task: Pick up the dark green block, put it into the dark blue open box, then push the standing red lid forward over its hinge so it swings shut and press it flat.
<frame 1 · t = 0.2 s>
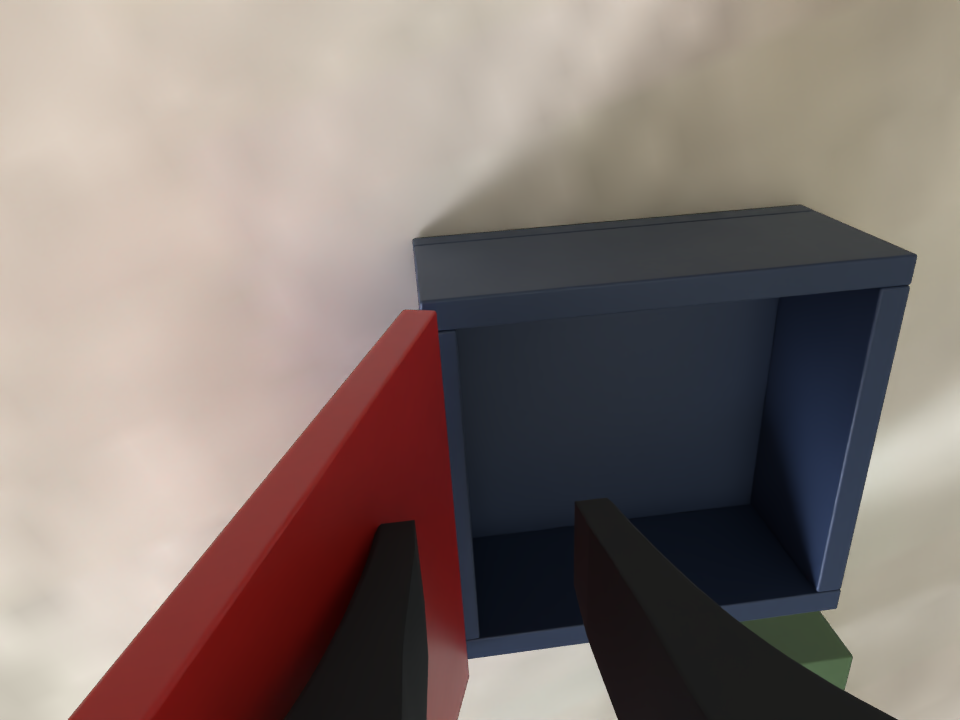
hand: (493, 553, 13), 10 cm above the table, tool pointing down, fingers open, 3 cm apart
dark blue open box: (606, 388, 24), on the table
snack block: (738, 623, 29), on the table
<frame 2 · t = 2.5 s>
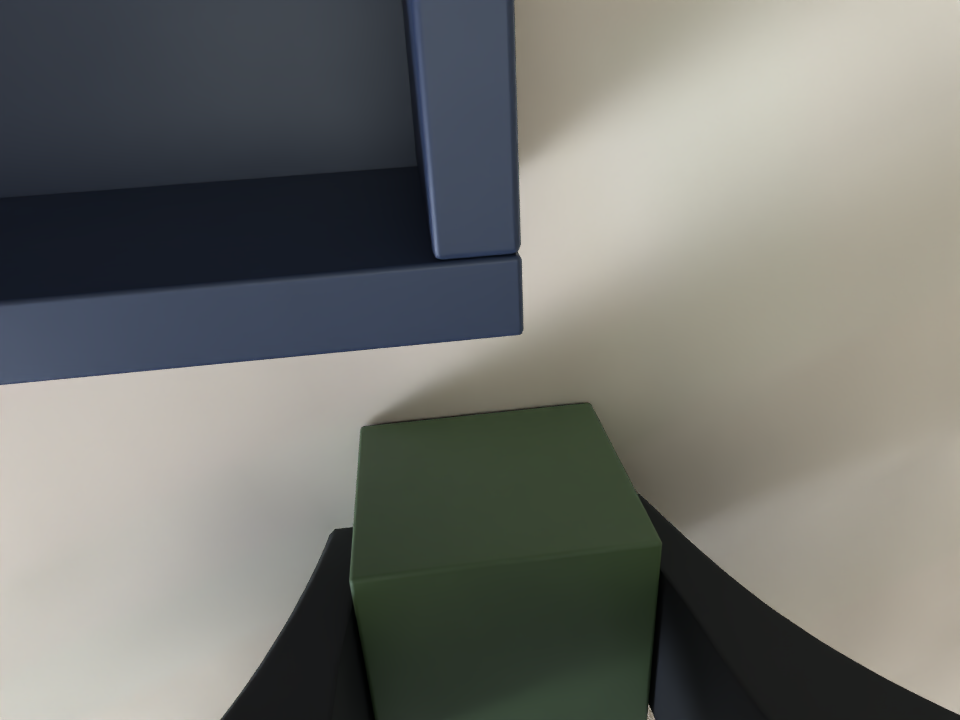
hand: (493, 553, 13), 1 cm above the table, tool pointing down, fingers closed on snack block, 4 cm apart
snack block: (482, 505, 14), on the table, touching gripper
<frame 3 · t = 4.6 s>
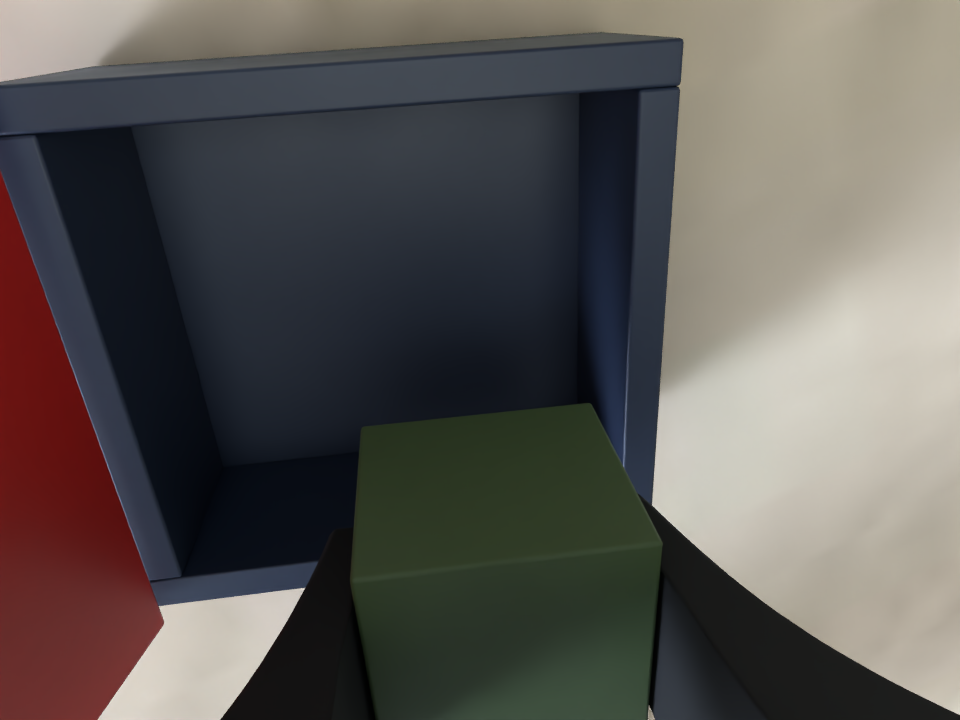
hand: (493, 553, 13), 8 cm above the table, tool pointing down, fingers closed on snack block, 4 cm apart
dark blue open box: (383, 278, 19), on the table
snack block: (483, 505, 14), point 7 cm above the table, touching gripper
when the fingers open (2 cm above the table, at t = 6.8 s): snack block stays where it is, resting on dark blue open box.
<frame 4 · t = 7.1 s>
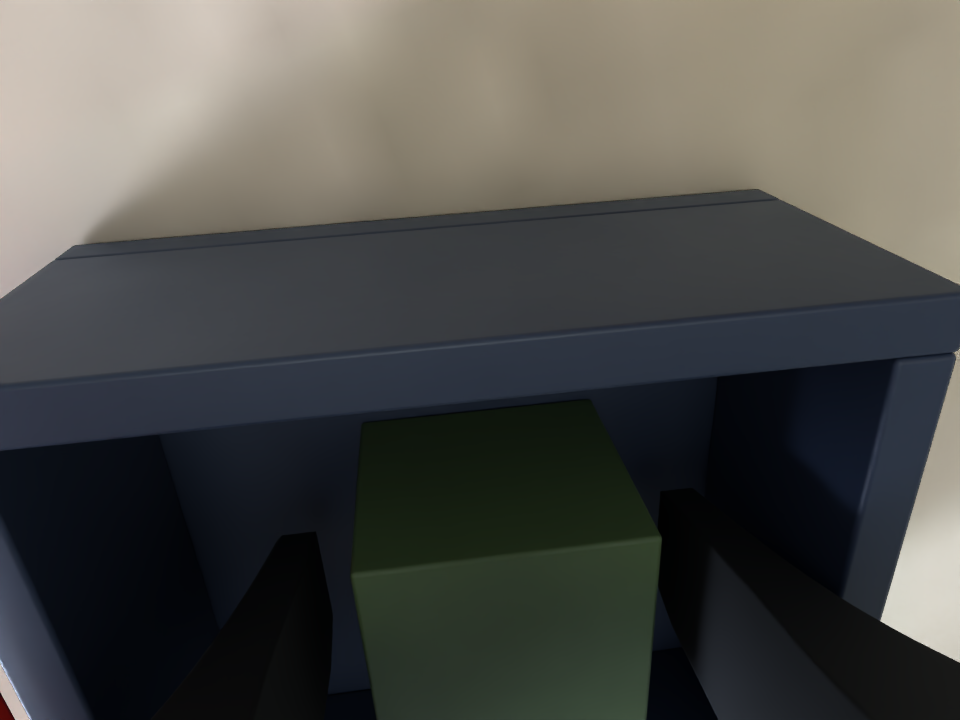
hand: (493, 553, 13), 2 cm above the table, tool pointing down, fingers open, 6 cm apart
dark blue open box: (452, 482, 15), on the table
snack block: (483, 502, 14), point 1 cm above the table, touching dark blue open box
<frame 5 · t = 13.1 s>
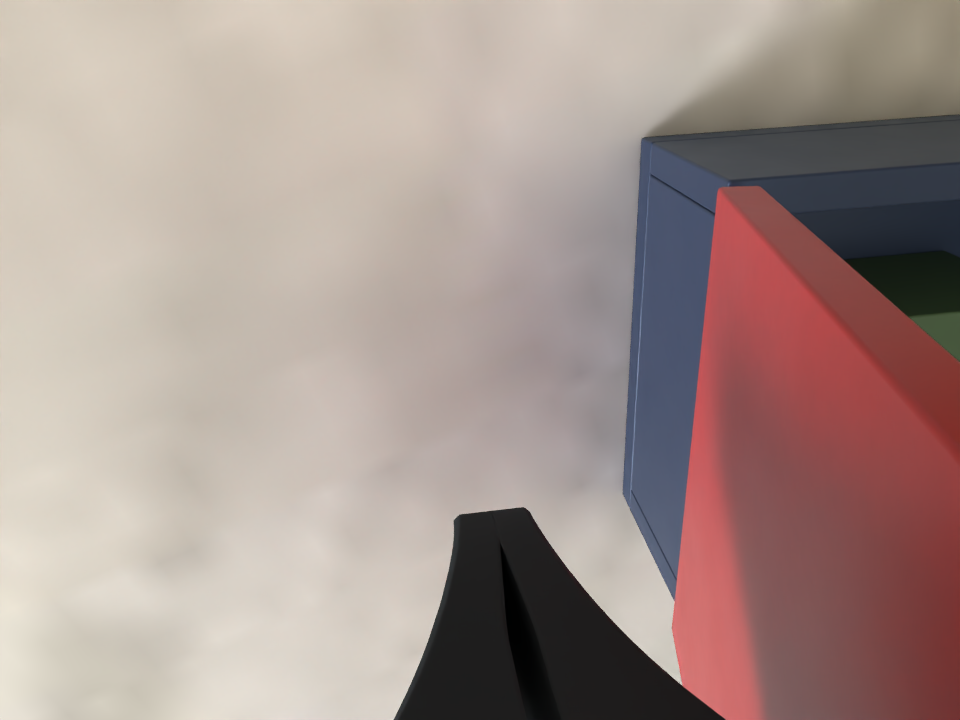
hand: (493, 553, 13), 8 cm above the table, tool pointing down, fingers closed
dark blue open box: (823, 319, 21), on the table
lunchbox lid: (798, 700, 10), point 12 cm above the table, hinge at 102.0°, touching gripper
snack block: (856, 327, 21), point 1 cm above the table, touching dark blue open box
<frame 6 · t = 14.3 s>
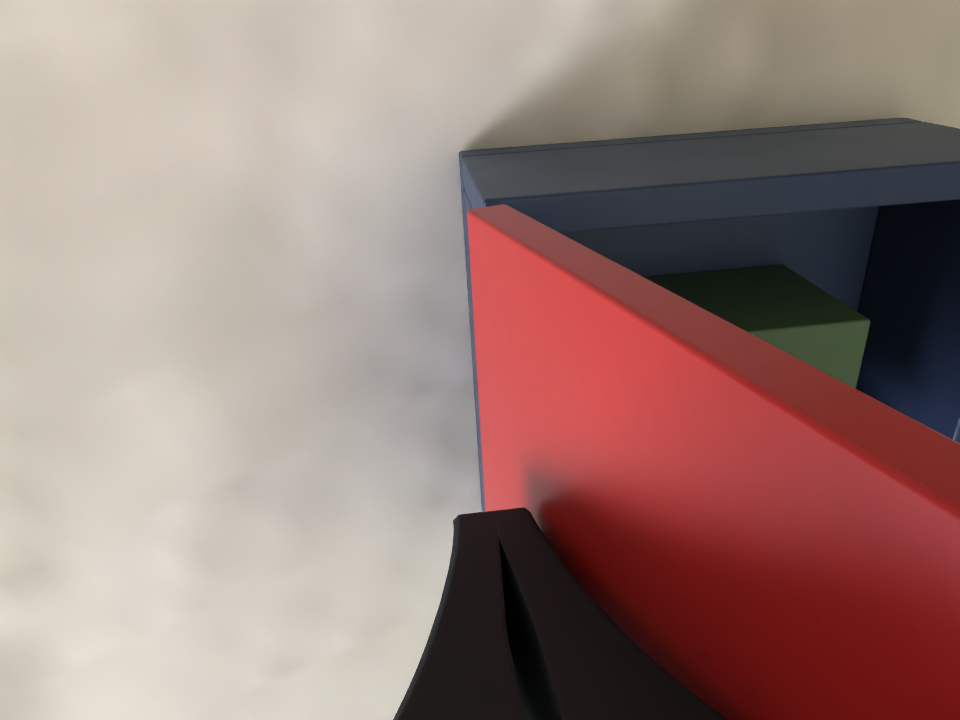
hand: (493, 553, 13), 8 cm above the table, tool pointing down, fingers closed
dark blue open box: (671, 333, 21), on the table
lunchbox lid: (681, 711, 10), point 12 cm above the table, hinge at 74.6°, touching gripper
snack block: (700, 342, 20), point 1 cm above the table, touching dark blue open box
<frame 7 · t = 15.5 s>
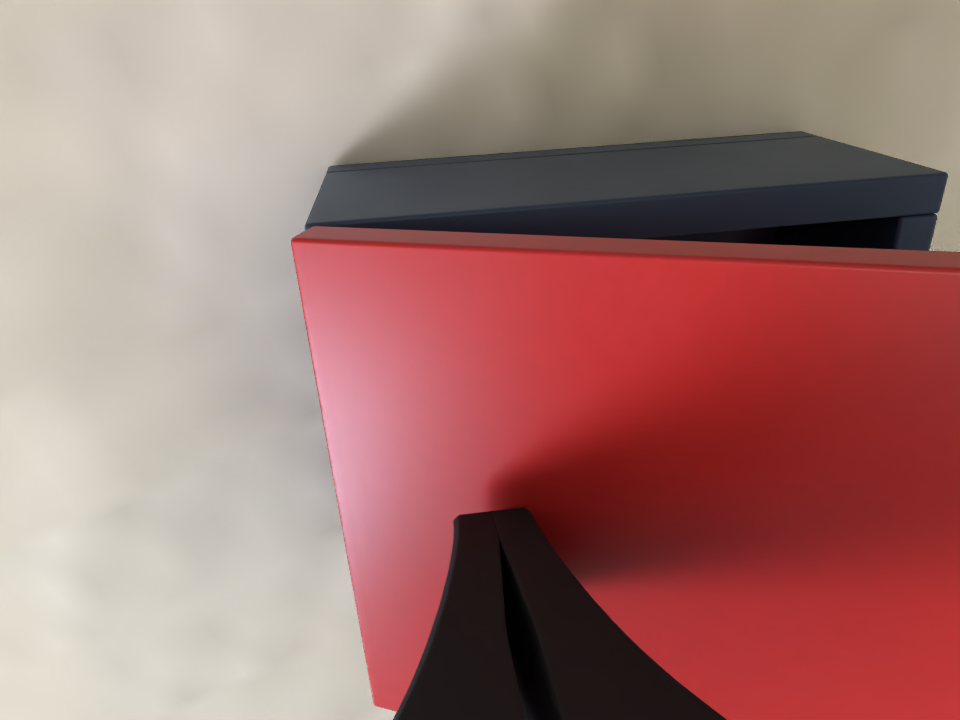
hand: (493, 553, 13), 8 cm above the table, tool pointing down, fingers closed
dark blue open box: (570, 354, 20), on the table
lunchbox lid: (671, 558, 12), point 8 cm above the table, hinge at 23.8°
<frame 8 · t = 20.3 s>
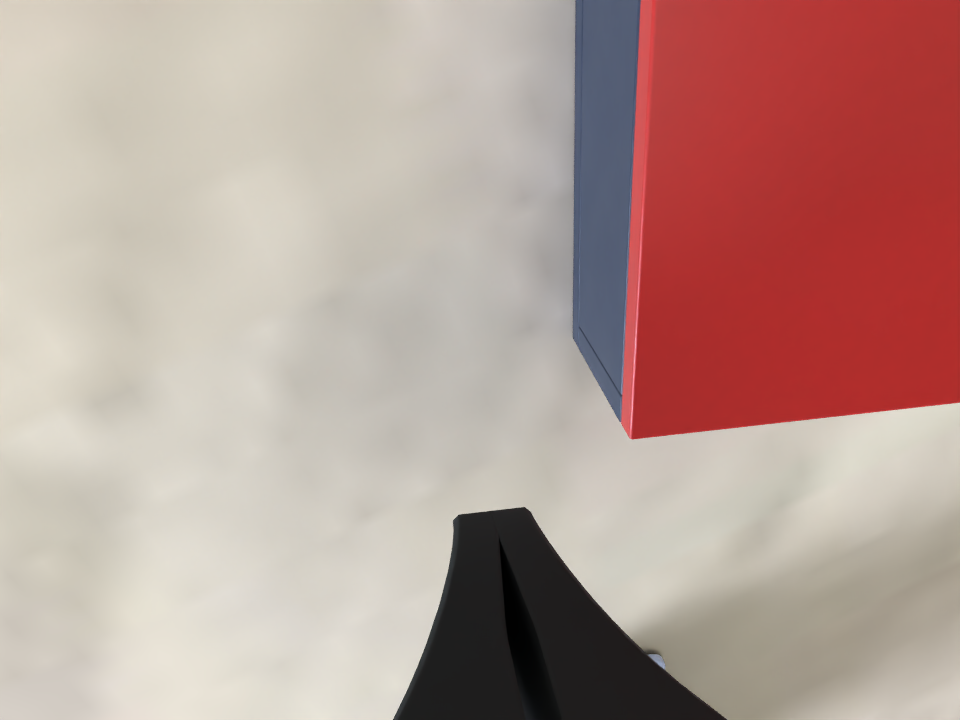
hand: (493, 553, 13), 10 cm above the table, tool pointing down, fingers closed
dark blue open box: (773, 142, 21), on the table
lunchbox lid: (917, 183, 16), point 6 cm above the table, hinge at -0.2°
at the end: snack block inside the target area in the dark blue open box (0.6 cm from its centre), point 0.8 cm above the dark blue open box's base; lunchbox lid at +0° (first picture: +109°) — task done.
